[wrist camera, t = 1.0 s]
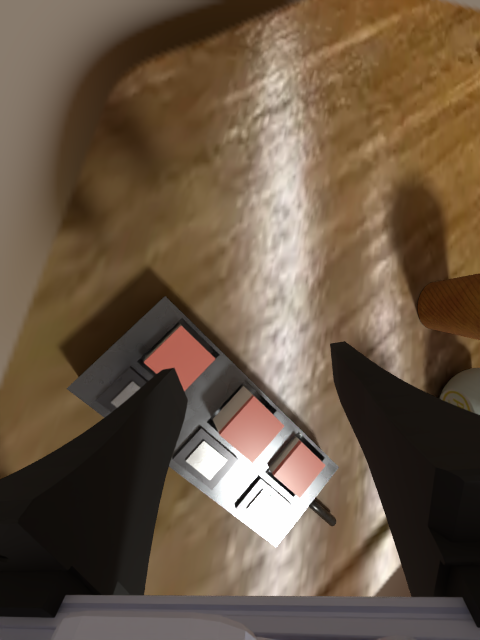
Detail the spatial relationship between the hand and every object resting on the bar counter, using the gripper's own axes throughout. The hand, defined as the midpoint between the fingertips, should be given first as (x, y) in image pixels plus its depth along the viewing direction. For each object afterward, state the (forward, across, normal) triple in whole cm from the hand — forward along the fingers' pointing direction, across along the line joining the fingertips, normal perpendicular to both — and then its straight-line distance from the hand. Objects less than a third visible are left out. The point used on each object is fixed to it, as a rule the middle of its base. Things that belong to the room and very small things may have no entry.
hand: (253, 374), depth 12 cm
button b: (+8, +3, +10) cm, 13 cm away
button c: (+10, +8, +4) cm, 13 cm away
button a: (+9, 0, +18) cm, 20 cm away
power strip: (+9, +5, +15) cm, 18 cm away
